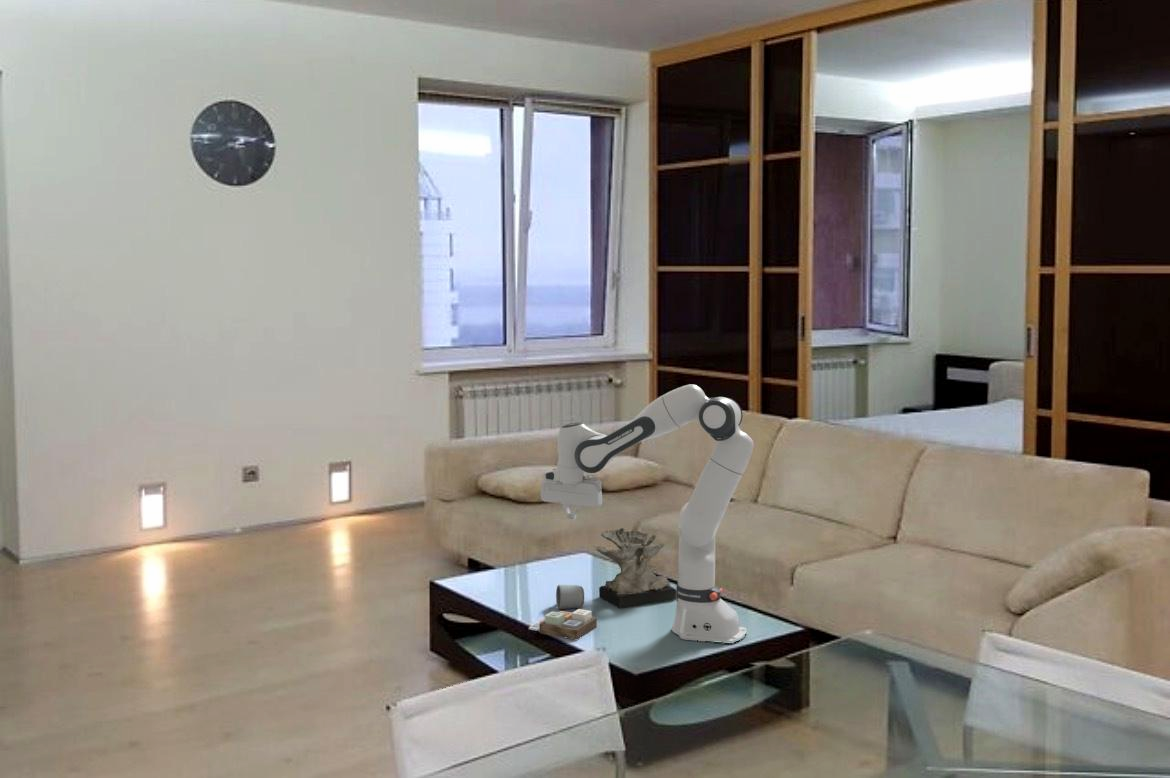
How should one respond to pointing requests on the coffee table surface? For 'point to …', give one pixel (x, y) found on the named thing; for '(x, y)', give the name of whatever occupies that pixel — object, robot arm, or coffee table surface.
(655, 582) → the coral
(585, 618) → the key ivory
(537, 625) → the card
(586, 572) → the coffee table surface
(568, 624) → the key slate
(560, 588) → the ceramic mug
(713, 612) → the robot arm
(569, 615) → the key terracotta
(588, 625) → the keypad base
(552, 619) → the key sage
